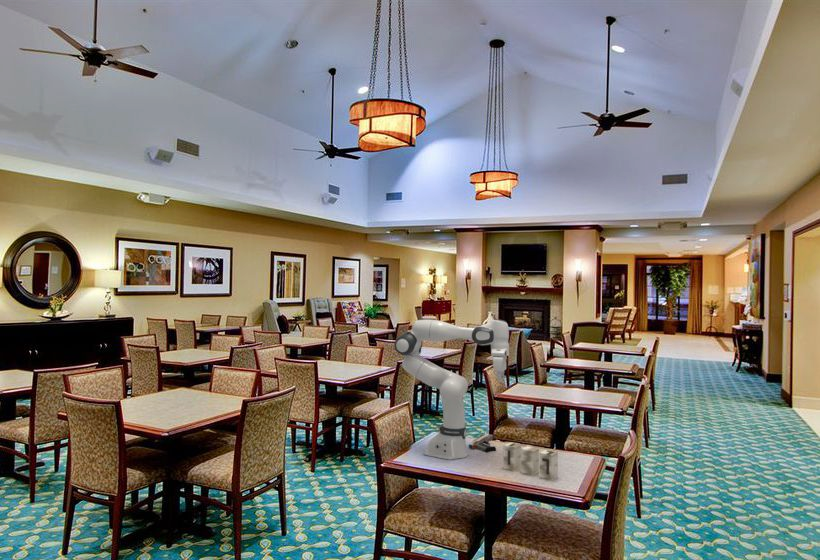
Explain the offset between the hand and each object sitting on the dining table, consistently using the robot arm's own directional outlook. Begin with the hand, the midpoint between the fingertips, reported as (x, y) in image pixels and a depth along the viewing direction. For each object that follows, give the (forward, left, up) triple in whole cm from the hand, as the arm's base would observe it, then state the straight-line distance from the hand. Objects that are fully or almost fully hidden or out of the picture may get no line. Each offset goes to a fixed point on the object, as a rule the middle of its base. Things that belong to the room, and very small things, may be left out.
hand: (500, 380), depth 253 cm
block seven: (+24, -15, -39) cm, 48 cm away
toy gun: (-11, +25, -40) cm, 48 cm away
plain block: (+16, -12, -39) cm, 44 cm away
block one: (+7, -10, -39) cm, 41 cm away
